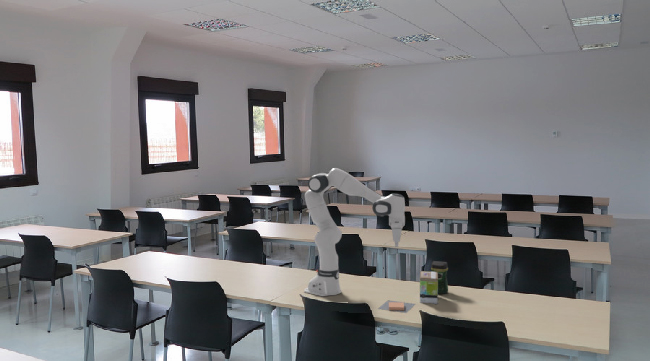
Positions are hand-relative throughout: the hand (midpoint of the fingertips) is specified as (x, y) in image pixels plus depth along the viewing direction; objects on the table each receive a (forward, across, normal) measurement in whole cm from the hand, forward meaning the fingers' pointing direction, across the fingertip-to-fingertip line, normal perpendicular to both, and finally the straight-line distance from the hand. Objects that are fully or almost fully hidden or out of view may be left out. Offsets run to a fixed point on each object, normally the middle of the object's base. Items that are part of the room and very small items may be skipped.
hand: (396, 246), depth 294 cm
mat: (+30, +15, +1) cm, 34 cm away
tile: (+29, +14, 0) cm, 32 cm away
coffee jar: (+30, -14, +26) cm, 42 cm away
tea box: (+30, 0, +18) cm, 36 cm away
